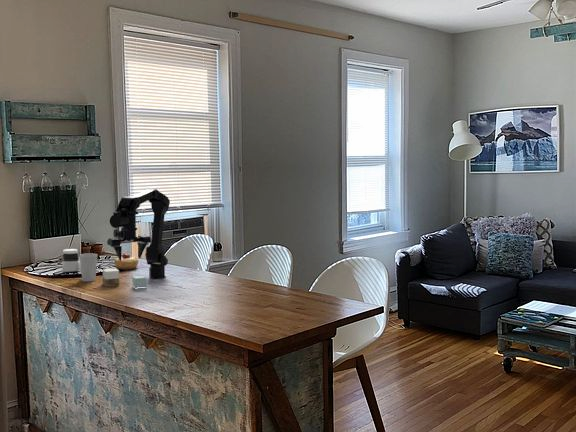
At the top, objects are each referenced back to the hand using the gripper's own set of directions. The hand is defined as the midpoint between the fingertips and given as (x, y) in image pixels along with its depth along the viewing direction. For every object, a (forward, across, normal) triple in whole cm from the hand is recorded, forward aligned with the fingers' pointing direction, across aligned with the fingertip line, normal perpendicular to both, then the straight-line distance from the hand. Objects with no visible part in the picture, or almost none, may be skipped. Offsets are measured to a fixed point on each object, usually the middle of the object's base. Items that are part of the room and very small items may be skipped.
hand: (129, 259), depth 279 cm
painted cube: (+13, -2, +5) cm, 14 cm away
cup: (+13, +10, -23) cm, 28 cm away
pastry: (+13, -16, -39) cm, 44 cm away
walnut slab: (+13, +5, -8) cm, 16 cm away
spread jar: (+13, +9, -41) cm, 44 cm away
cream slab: (+9, +5, -8) cm, 13 cm away
